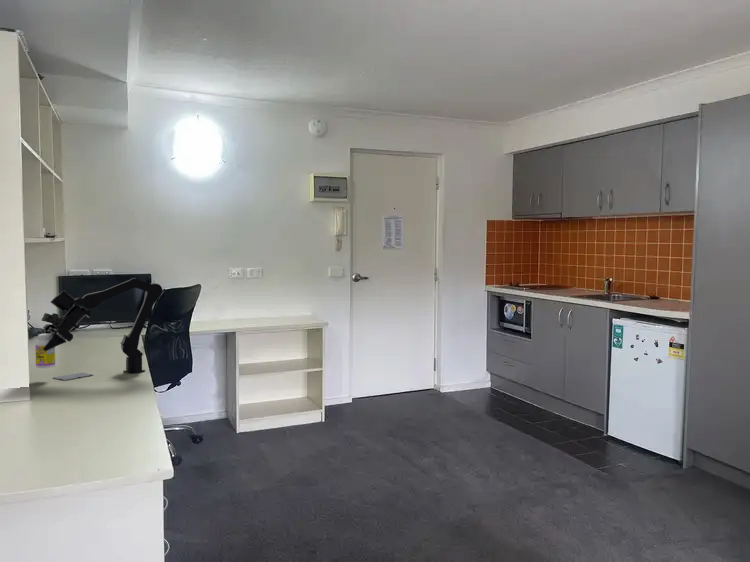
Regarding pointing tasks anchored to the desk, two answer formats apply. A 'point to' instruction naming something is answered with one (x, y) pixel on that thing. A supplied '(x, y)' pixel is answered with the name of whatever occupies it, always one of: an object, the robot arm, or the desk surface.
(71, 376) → the mat
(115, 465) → the desk surface
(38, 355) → the supplement bottle
